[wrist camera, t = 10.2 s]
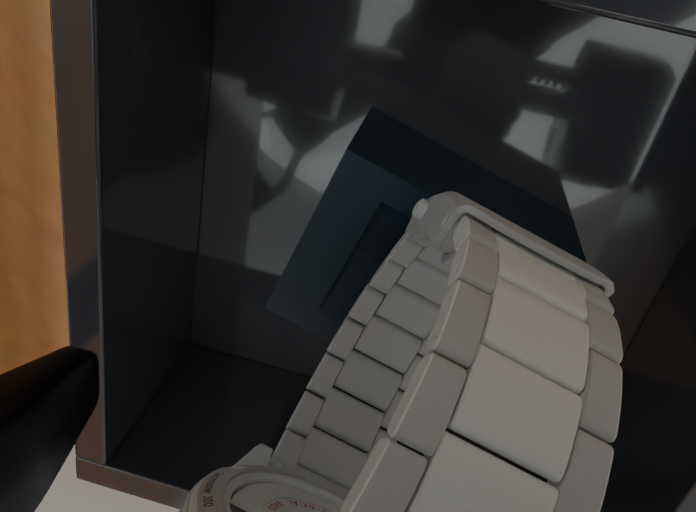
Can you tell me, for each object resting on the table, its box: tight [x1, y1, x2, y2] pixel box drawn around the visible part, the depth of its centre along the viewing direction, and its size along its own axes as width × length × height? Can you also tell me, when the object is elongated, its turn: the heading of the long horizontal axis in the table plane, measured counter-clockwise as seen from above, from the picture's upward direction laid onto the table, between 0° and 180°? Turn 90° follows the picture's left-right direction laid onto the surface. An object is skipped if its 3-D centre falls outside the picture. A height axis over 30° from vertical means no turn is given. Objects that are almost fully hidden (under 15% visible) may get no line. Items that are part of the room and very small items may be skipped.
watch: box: [179, 107, 623, 512], centre depth 11 cm, size 6×8×11 cm
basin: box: [50, 0, 696, 512], centre depth 14 cm, size 14×14×6 cm
